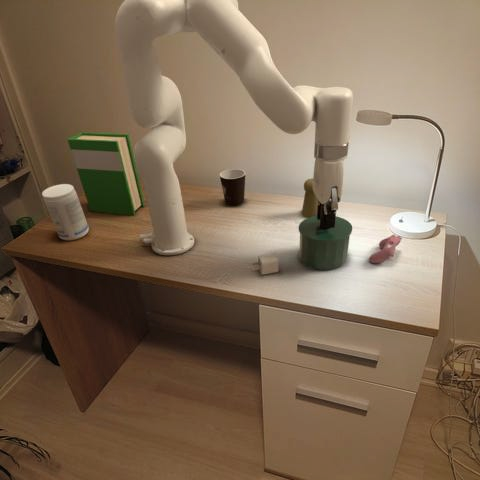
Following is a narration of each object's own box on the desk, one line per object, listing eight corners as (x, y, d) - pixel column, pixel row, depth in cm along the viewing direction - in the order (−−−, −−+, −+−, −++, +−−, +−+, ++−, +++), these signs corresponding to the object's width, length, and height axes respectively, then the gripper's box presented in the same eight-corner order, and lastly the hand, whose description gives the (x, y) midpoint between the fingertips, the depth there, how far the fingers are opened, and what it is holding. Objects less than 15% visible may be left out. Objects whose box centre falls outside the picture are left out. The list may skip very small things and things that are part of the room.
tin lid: (305, 247, 102) (306, 220, 97) (293, 222, 112) (294, 196, 108) (359, 241, 103) (362, 214, 98) (342, 216, 113) (345, 191, 108)
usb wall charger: (278, 273, 108) (278, 260, 106) (252, 277, 107) (251, 264, 105) (274, 265, 111) (273, 252, 109) (248, 269, 110) (248, 256, 108)
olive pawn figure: (320, 218, 130) (322, 184, 123) (300, 217, 131) (301, 184, 124) (321, 209, 134) (323, 176, 127) (302, 209, 135) (303, 176, 128)
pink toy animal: (380, 271, 108) (397, 253, 103) (366, 260, 109) (382, 242, 104) (391, 253, 115) (408, 235, 109) (378, 243, 115) (393, 225, 110)
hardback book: (144, 205, 145) (128, 134, 130) (134, 215, 140) (115, 141, 125) (102, 201, 150) (81, 132, 135) (90, 210, 145) (67, 139, 130)
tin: (305, 272, 108) (306, 244, 102) (295, 248, 117) (295, 220, 112) (353, 267, 108) (356, 238, 103) (339, 243, 118) (341, 215, 112)
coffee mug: (247, 207, 139) (245, 178, 133) (221, 208, 140) (218, 179, 133) (247, 192, 148) (245, 164, 142) (223, 194, 148) (220, 166, 142)
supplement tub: (88, 224, 137) (73, 181, 128) (90, 237, 130) (75, 192, 121) (58, 231, 135) (41, 187, 125) (58, 244, 128) (41, 199, 118)
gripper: (306, 140, 100) (303, 210, 112) (324, 164, 88) (319, 240, 99) (336, 137, 101) (330, 207, 113) (359, 160, 88) (350, 237, 100)
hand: (325, 222), depth 106 cm, fingers open, 4 cm apart
